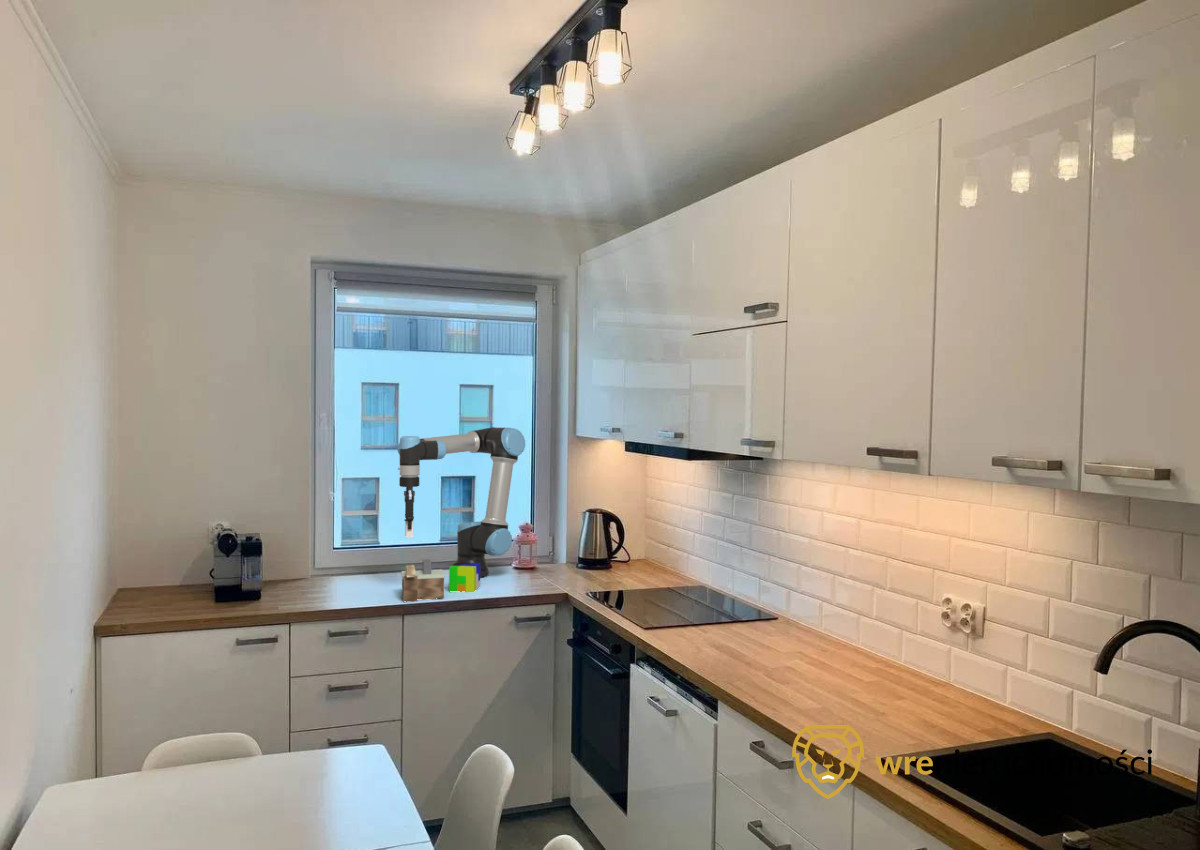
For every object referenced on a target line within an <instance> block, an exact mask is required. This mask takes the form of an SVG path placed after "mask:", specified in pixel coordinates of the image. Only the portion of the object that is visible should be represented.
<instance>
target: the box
mask: <svg viewBox="0 0 1200 850" xmlns="http://www.w3.org/2000/svg"><path fill="white" fill-rule="evenodd" d="M401 596H403V597H402V601H403V602H404V601H417V602H418V600H417V599H431V600H439V599H438V598H444V599H445V578H426V579H418V577H417V576H415V577H407V576H404V577H403V579H402V578H401ZM436 598H437V599H436Z"/></svg>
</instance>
